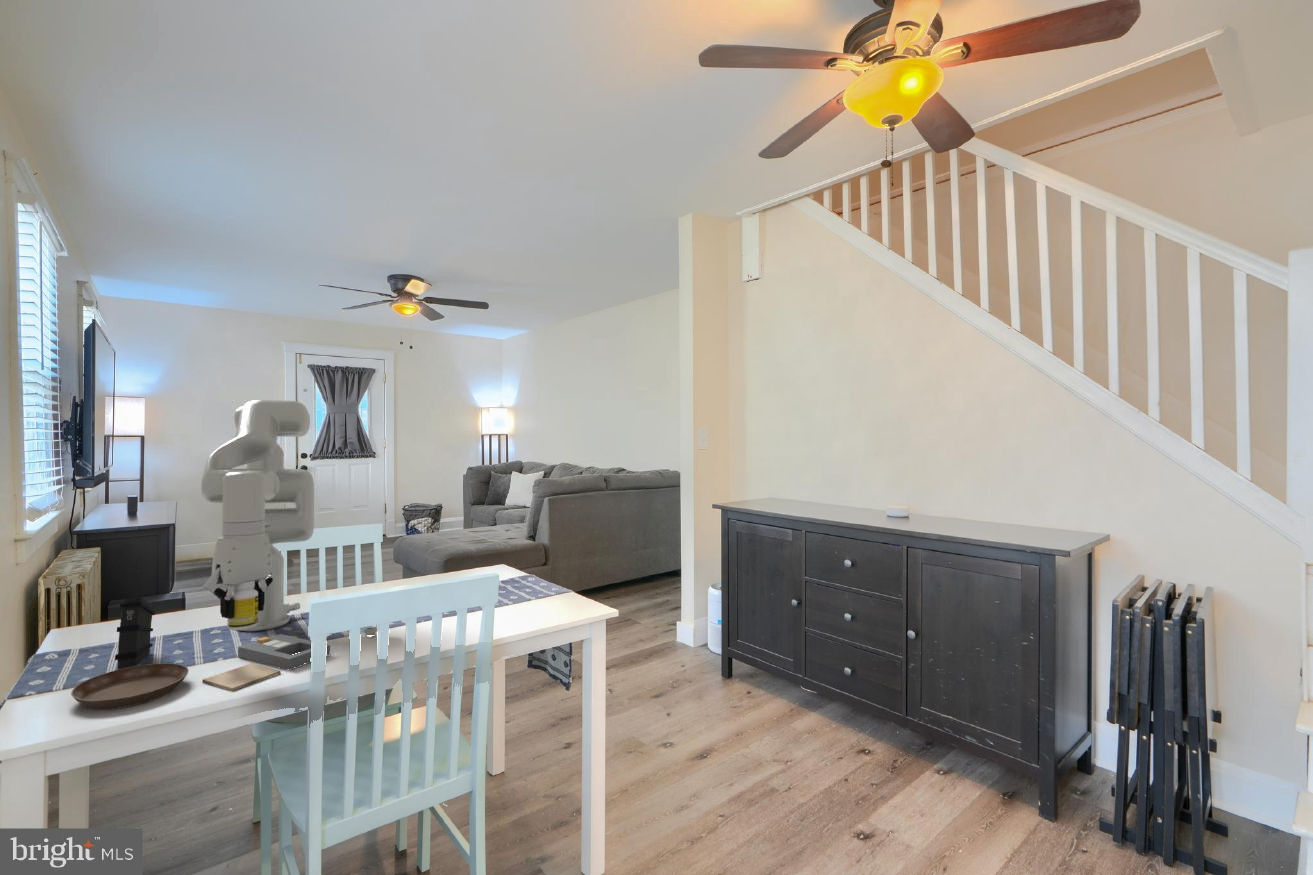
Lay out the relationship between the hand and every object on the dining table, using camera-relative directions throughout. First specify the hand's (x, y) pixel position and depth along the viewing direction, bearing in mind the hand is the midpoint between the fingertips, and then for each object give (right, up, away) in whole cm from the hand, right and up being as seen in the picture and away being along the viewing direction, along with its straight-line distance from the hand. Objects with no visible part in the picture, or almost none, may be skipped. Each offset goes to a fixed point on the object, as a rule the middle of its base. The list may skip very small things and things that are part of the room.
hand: (242, 612), depth 128 cm
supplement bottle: (0, -3, 0) cm, 3 cm away
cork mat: (0, -14, 0) cm, 14 cm away
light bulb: (+14, -14, +28) cm, 34 cm away
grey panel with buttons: (+1, -14, +13) cm, 19 cm away
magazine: (-31, -14, +9) cm, 35 cm away
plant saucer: (-17, -14, -8) cm, 23 cm away
